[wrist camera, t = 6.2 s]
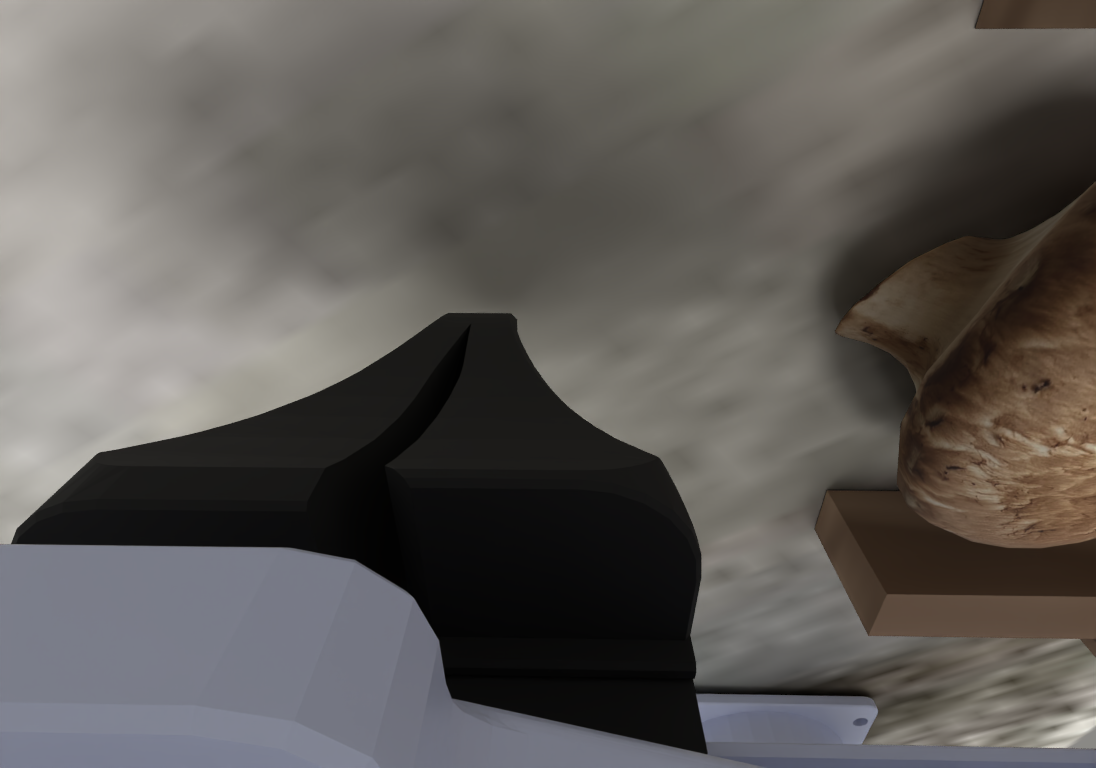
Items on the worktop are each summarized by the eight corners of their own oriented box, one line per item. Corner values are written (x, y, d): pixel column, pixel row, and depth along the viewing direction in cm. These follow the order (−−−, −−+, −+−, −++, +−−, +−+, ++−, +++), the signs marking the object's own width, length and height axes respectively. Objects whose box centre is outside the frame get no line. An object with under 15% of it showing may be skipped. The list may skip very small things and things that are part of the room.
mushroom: (718, 365, 11) (1157, 619, 6) (993, -9, 10) (1658, 7, 6) (814, 468, 17) (1074, 633, 12) (990, 236, 16) (1321, 329, 12)
